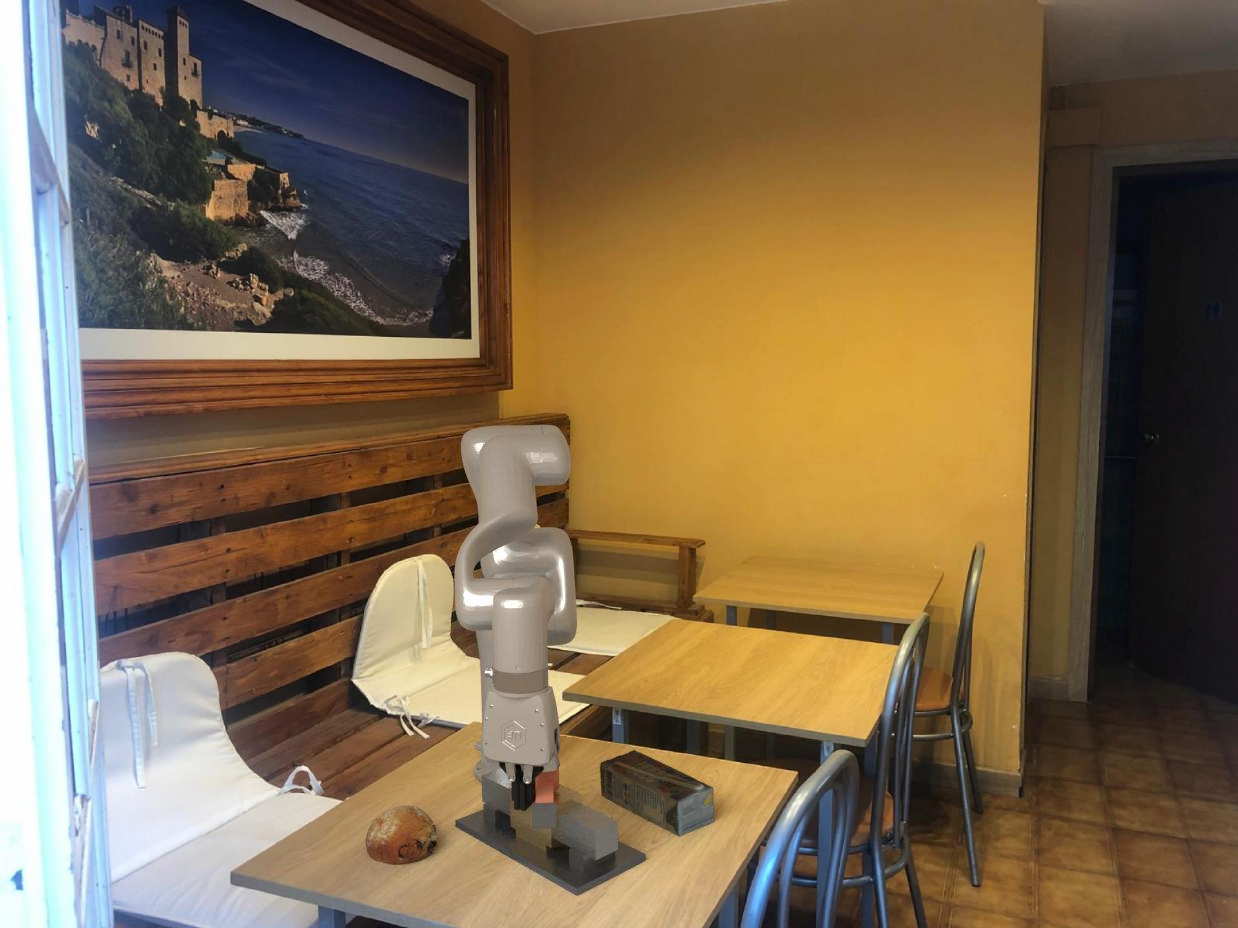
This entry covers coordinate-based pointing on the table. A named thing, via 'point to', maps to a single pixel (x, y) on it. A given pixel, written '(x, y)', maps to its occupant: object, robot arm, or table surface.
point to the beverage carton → (657, 792)
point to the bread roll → (401, 836)
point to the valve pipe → (551, 837)
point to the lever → (545, 800)
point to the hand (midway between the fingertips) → (524, 806)
